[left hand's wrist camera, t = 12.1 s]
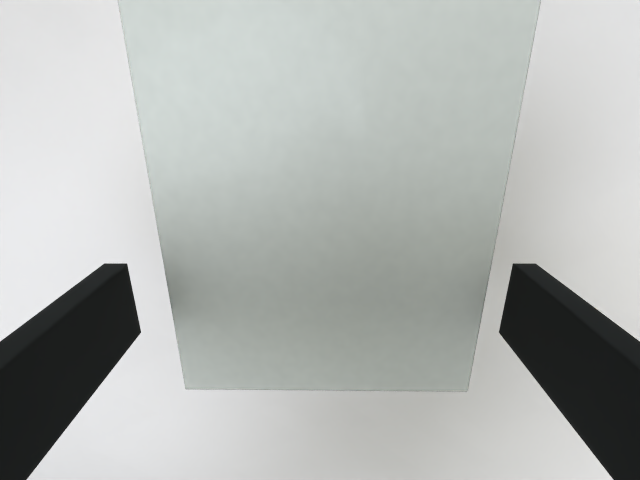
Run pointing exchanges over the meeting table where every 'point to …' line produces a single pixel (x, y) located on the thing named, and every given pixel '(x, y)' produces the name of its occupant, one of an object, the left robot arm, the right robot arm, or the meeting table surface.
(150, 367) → the meeting table surface
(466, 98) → the pale grey box
